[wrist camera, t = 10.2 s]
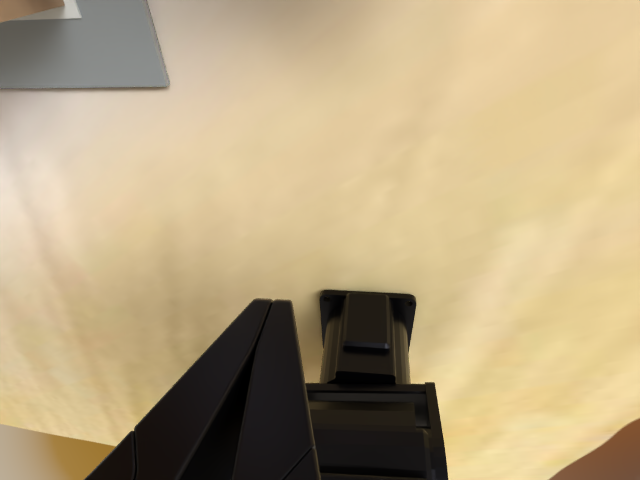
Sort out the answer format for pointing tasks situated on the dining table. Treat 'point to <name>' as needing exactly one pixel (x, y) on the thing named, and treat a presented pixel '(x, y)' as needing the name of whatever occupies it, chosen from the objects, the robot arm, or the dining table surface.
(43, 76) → the build board
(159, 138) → the dining table surface
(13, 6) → the walnut base
